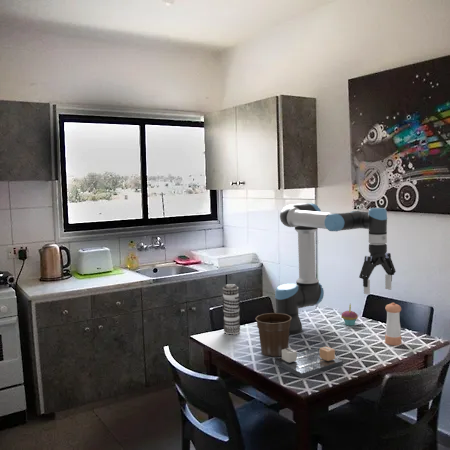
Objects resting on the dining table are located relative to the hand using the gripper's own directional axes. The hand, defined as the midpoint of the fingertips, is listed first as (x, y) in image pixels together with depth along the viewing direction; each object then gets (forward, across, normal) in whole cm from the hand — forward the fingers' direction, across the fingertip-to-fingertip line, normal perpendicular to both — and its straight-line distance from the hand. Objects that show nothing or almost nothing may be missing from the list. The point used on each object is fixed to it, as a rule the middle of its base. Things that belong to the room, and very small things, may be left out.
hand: (377, 291), depth 212 cm
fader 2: (+25, -26, +4) cm, 37 cm away
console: (+28, -33, +8) cm, 44 cm away
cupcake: (+28, +20, +37) cm, 50 cm away
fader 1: (+25, -40, +12) cm, 49 cm away
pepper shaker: (+28, +16, +5) cm, 32 cm away
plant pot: (+28, -36, +28) cm, 54 cm away
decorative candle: (+28, -37, +63) cm, 78 cm away
